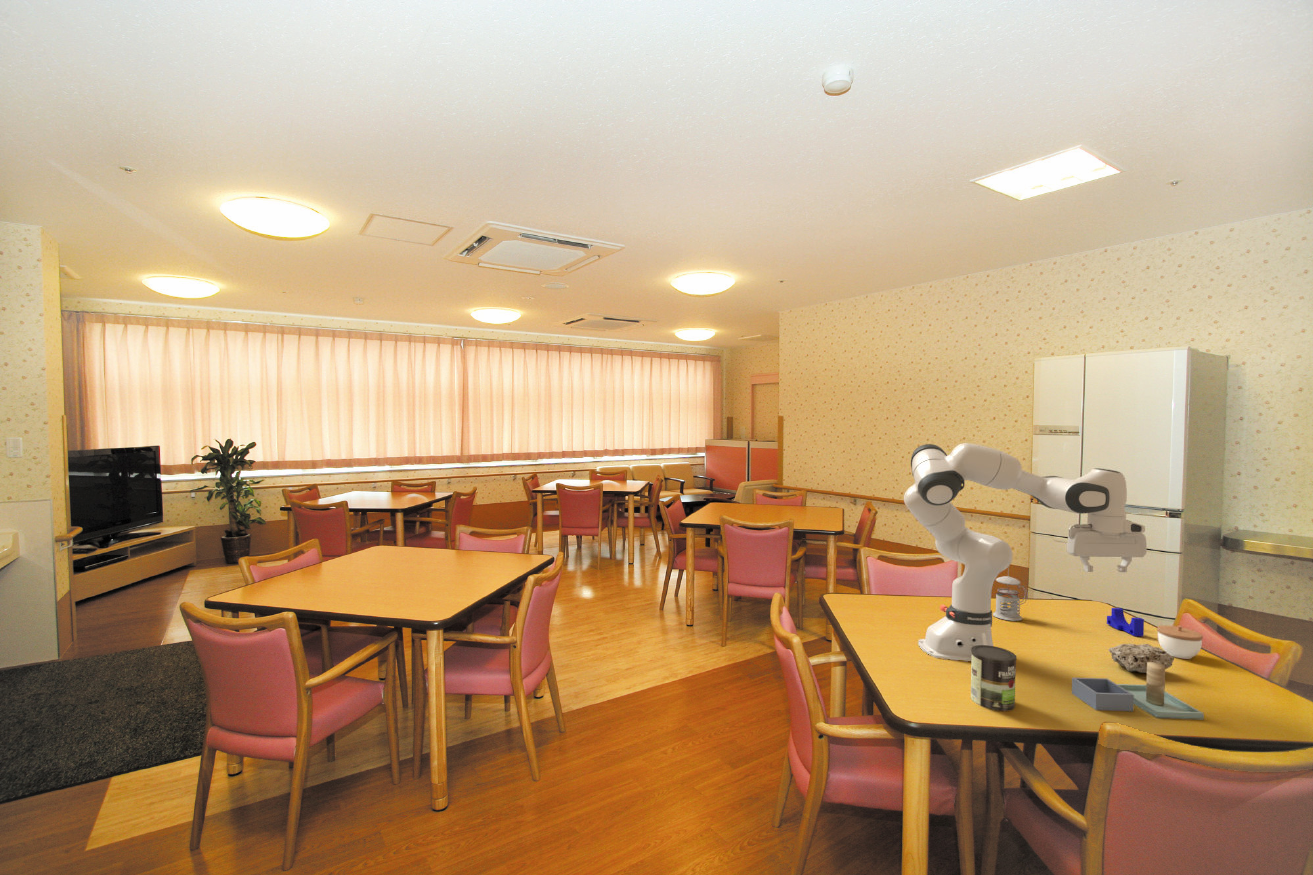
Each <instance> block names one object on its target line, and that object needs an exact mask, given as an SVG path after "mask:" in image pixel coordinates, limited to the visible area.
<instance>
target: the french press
mask: <svg viewBox="0 0 1313 875" xmlns="http://www.w3.org/2000/svg"><path fill="white" fill-rule="evenodd" d="M1009 573H1010V566H1009V567H1008V568H1007V575H1006V576H1005V575H1004V576H1000V577H996V578H995V581H996V582H998V583H1000V584H1004V585H1007V586H1017V589H1019V590H1020V589H1021V587H1022V589H1023V592H1024V597H1023V599H1022V600H1021V598H1020V596H1019V594H1020V593H1019V591H1018V590H1015V589H1010V588H997V590H996V591H997V592H996V593H995V611H994V612H992V616H994V617H995V618H998V619H1001V620H1006V621H1012V622H1016V621H1022V620H1023V617H1022V616H1021V615H1020V614H1021V613H1020V611H1021V605H1023V604H1025V603H1026V602H1027V600H1028V596H1029V594H1028V590H1027V588H1025V586H1023V585H1021V581H1020V580H1019V579H1017V578H1014V577H1012V576H1010V575H1009ZM1008 596H1009V597H1008ZM1025 598H1026V599H1025ZM1020 600H1021V601H1020Z"/></svg>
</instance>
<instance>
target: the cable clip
mask: <svg viewBox="0 0 1313 875" xmlns="http://www.w3.org/2000/svg"><path fill="white" fill-rule="evenodd" d="M1110 612H1111V614H1110V615H1107V616H1106V624H1107V625H1109V626H1111V627H1112V628H1114V629H1116V630H1120V631H1124V632H1126V633H1127V634H1130V635H1132V636H1133V637H1144V632H1145V631H1144V629H1145V619H1144V618H1142V617H1131V620H1130V623H1128V621H1127V619H1126V617H1125V615H1124V609H1123V608H1121V607H1111V611H1110Z"/></svg>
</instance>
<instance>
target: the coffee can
mask: <svg viewBox="0 0 1313 875" xmlns="http://www.w3.org/2000/svg"><path fill="white" fill-rule="evenodd" d="M971 652H972V659H971V665H970V666H971V667H970V669H971V670H970V673H971V674H970V677H971V679H970V699H971V701H972V702H973V703H974V704H976V705H977V706H980V707H983V708H985V709H989V710H992V711H999V712H1010V711H1013V710H1015V707H1016V677H1017V676H1016V671H1017V670H1016V669H1017V668H1016V667H1017V655H1016V654H1015V653H1014V652H1012V651H1011V650H1008V649H1006V648H1002V647H1000V646H994V645H993V646H988V645H977V646H973V647H972V648H971Z"/></svg>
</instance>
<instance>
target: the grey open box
mask: <svg viewBox="0 0 1313 875" xmlns="http://www.w3.org/2000/svg"><path fill="white" fill-rule="evenodd" d="M1117 684H1118V683H1115V682H1114V681H1112V680H1111V679H1109V678H1104V677H1103V678H1102V677H1100V678H1099V677H1097V678H1096V677H1072V678H1071V694H1072V695H1073V696H1075V697H1076V698H1078V699H1079V700H1080V701H1082V702H1083V703H1084V704H1087V705H1088V706H1089V707H1091V708H1092V709H1093V710H1095V711H1110V712H1111V711H1112V712H1134V705H1135V704H1134V695H1133V694H1132V693H1130V692H1128V691H1127V690H1125V689H1124V688H1122V687H1120V686H1119V685H1117Z"/></svg>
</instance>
